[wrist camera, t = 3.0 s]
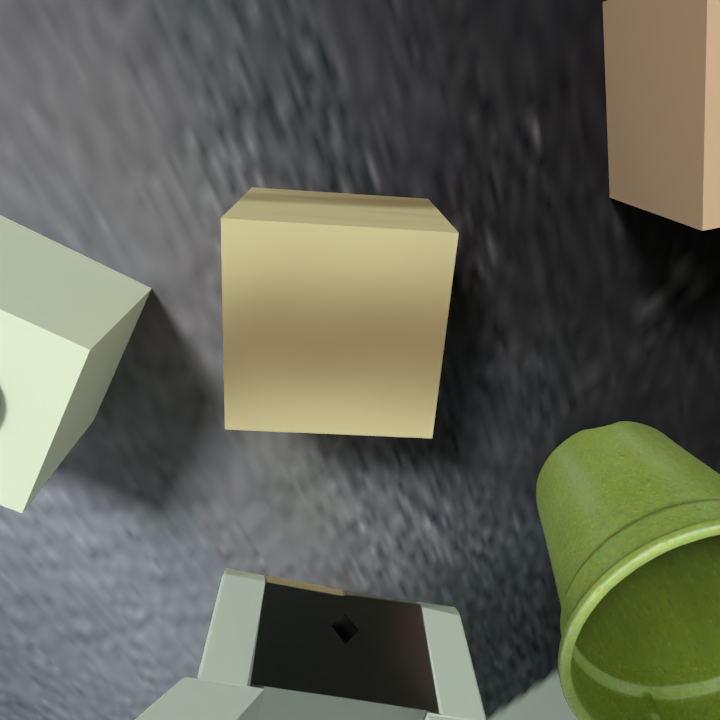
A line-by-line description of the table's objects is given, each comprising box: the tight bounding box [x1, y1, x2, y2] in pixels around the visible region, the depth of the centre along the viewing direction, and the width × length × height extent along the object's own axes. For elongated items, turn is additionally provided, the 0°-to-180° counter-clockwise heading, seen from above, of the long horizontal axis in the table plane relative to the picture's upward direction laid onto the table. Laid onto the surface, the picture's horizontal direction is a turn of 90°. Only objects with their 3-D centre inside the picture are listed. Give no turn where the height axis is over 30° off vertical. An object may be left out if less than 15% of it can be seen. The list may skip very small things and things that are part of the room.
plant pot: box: [536, 421, 720, 720], centre depth 22 cm, size 9×9×9 cm
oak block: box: [221, 188, 459, 438], centre depth 19 cm, size 6×6×6 cm
